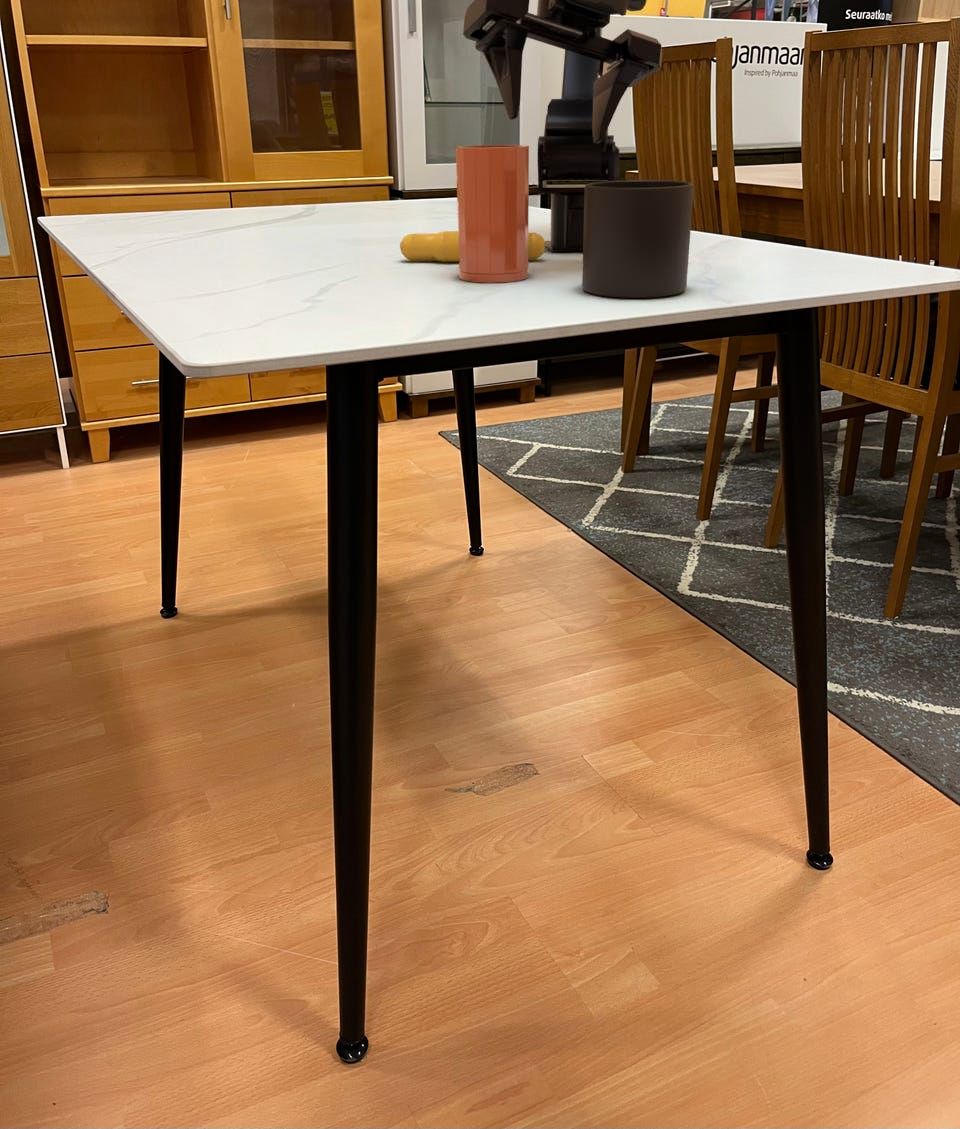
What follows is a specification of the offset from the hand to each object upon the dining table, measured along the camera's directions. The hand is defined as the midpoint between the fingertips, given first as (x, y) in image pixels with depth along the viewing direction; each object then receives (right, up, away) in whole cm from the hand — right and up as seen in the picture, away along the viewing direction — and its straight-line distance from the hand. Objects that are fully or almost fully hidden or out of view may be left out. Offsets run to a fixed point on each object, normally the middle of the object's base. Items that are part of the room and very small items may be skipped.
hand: (556, 130), depth 91 cm
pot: (-6, -13, +4) cm, 15 cm away
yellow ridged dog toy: (-8, -8, +14) cm, 18 cm away
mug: (+7, -16, -2) cm, 17 cm away
